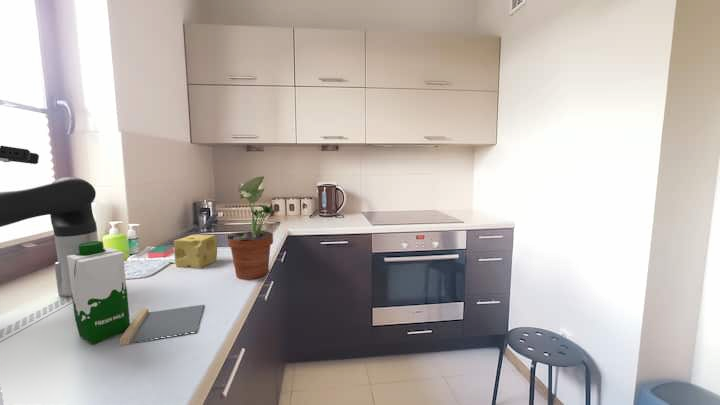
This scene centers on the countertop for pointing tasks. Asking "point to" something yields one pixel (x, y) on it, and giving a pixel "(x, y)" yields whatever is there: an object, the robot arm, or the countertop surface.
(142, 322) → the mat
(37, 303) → the countertop surface
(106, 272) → the white and green box
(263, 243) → the potted plant
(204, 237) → the cheese
